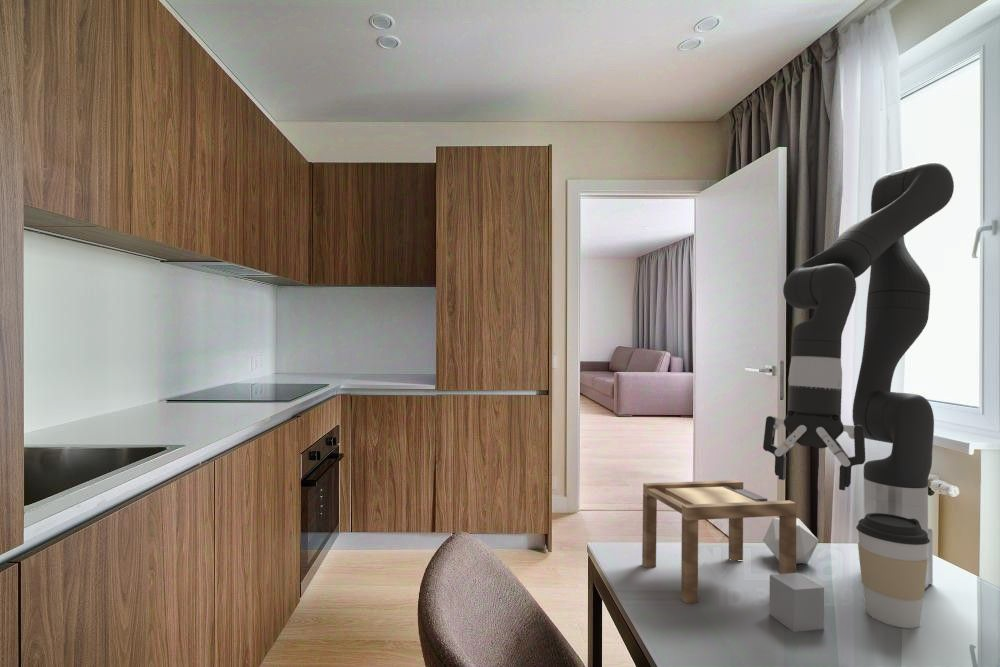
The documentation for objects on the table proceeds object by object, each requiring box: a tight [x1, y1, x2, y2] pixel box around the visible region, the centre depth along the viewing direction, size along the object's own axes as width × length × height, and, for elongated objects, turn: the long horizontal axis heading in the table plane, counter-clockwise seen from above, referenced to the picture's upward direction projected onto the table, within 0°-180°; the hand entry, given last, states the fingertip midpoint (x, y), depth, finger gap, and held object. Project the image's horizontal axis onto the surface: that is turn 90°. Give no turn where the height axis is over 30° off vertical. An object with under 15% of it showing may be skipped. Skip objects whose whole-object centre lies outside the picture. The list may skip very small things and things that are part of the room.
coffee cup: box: [855, 513, 930, 629], centre depth 80 cm, size 9×9×15 cm
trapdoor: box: [665, 486, 768, 505], centre depth 92 cm, size 15×11×3 cm
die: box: [762, 517, 819, 564], centre depth 100 cm, size 8×9×10 cm
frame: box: [641, 479, 797, 604], centre depth 91 cm, size 20×15×15 cm
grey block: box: [769, 572, 825, 633], centre depth 77 cm, size 5×5×6 cm
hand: (811, 484), depth 85 cm, fingers open, 8 cm apart
